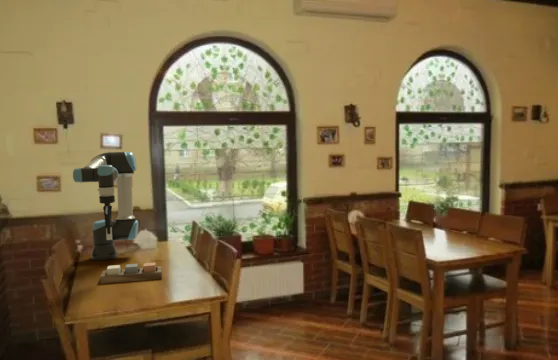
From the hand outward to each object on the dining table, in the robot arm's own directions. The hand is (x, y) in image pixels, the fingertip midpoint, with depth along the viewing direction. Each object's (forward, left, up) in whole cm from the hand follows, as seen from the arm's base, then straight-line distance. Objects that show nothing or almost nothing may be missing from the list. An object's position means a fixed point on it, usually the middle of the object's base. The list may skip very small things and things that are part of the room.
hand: (109, 239), depth 253 cm
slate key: (+5, +11, -18) cm, 22 cm away
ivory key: (+5, +2, -18) cm, 19 cm away
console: (+5, +11, -20) cm, 23 cm away
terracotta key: (+5, +20, -18) cm, 27 cm away
